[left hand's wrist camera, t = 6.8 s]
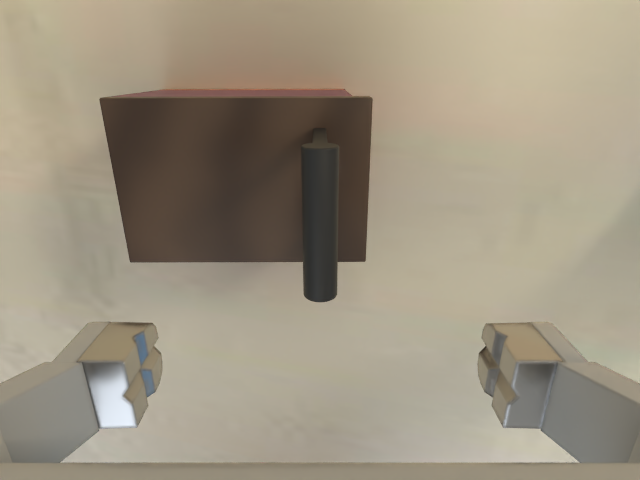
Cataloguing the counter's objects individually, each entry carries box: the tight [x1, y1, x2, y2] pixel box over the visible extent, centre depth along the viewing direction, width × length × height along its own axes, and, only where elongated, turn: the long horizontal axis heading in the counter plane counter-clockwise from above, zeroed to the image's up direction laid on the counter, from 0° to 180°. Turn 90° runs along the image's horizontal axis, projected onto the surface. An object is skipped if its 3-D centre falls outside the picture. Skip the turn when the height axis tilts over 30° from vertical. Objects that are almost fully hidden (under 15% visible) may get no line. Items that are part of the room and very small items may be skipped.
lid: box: [100, 96, 372, 302], centre depth 22 cm, size 15×10×9 cm, turn 90°
